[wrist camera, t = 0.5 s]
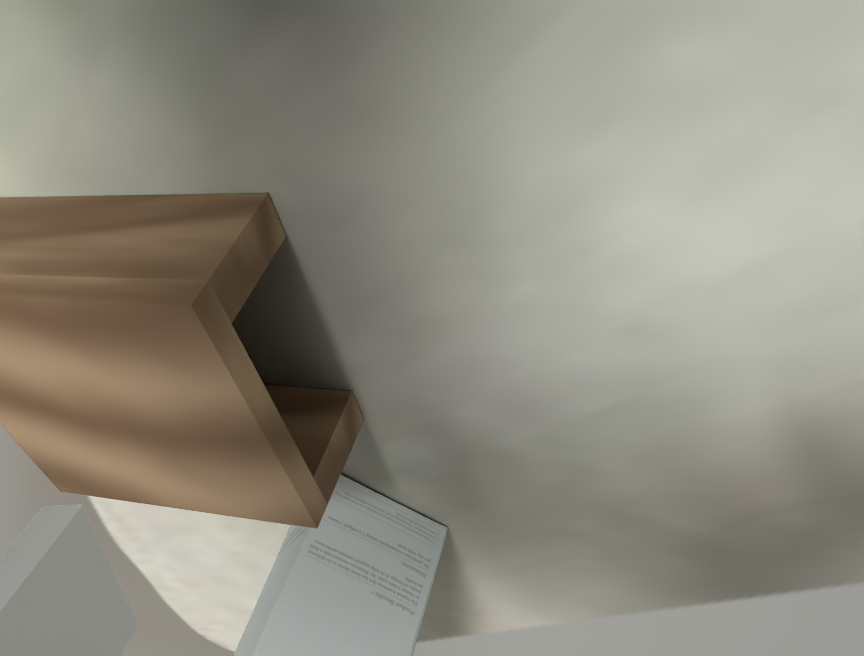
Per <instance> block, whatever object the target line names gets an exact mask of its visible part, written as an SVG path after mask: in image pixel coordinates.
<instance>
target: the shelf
mask: <svg viewBox="0 0 864 656" xmlns="http://www.w3.org/2000/svg"><path fill="white" fill-rule="evenodd" d="M285 238H286V234H285V232H284V229H283V227H282V225H281V222H280V220H279V217H278V215H277V213H276V210H275V208H274V206H273V203H272V201H271V199H270V196H269V194H268V193H248V194H188V195H128V196H68V197H8V198H0V425H1V426H2V427H3V428H4V430H5V431H6V432H7V433H8V434H9V435H10V436H11V437H12V438H13V439H14V440H15V442H16V443H17V444H18V445H19V446H20V447H21V448H22V449H23V450H24V452H25V453H26V454H27V455H28V456H29V457H30V458H31V459H32V460H33V461H34V463H36V465H37V466H38V467H39V468H40V469H41V470H42V471H43V473H44V474H45V475H46V476H47V477H48V478H49V479H50V480H51V481H52V482H53V484H54V485H55V486H56V487H57V488H58V489H59V490H60V491H61V492H68V493H76V494H82V495H89V496H96V497H103V498H109V499H116V500H123V501H130V502H137V503H144V504H151V505H158V506H165V507H172V508H179V509H185V510H192V511H199V512H206V513H213V514H220V515H227V516H234V517H241V518H248V519H255V520H261V521H268V522H275V523H282V524H289V525H296V526H303V527H310V528H317V529H318V526H319V524H320V522H321V519H322V517H323V515H324V512H325V510H326V507H327V505H328V503H329V500H330V498H331V496H332V493H333V491H334V489H335V486H336V484H337V481H338V479H339V477H340V474H341V472H342V470H343V467H344V465H345V463H346V460H347V458H348V456H349V453H350V451H351V448H352V446H353V444H354V441H355V439H356V437H357V434H358V432H359V430H360V427H361V425H362V423H363V420H364V418H363V416H362V413H361V411H360V408H359V406H358V404H357V401H356V399H355V397H354V394H353V392H352V391H343V390H330V389H317V388H304V387H291V386H278V385H265V384H263V382H262V380H261V378H260V376H259V375H258V373H257V371H256V369H255V367H254V365H253V363H252V361H251V359H250V358H249V356H248V354H247V352H246V350H245V348H244V346H243V344H242V343H241V341H240V339H239V337H238V335H237V333H236V331H235V329H234V327H233V326H232V322H233V321H234V319H235V318H236V316H237V314H238V313H239V311H240V310H241V308H242V306H243V305H244V303H245V302H246V300H247V298H248V297H249V295H250V294H251V292H252V290H253V289H254V287H255V286H256V284H257V282H258V281H259V279H260V278H261V276H262V275H263V273H264V271H265V270H266V268H267V267H268V265H269V263H270V262H271V260H272V259H273V257H274V255H275V254H276V252H277V251H278V249H279V247H280V246H281V244H282V243H283V241H284V239H285Z"/></svg>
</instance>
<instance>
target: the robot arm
mask: <svg viewBox="0 0 864 656" xmlns="http://www.w3.org/2000/svg"><path fill="white" fill-rule="evenodd" d="M138 625H139V622H138V620H137V618H136V616H135V614H134V612H133V609H132V607H131V606H130V603H129V601H128V599H127V597H126V595H125V592H124V590H123V588H122V586H121V584H120V582H119V580H118V577H117V575H116V573H115V571H114V569H113V567H112V565H111V563H110V560H109V558H108V556H107V554H106V552H105V550H104V548H103V545H102V543H101V541H100V539H99V537H98V535H97V533H96V531H95V529H94V526H93V524H92V522H91V520H90V518H89V516H88V513H87V511H86V509H85V507H84V505H82V504H81V505H64V506H48V507H47V506H46V507H42V508H41V509H40V510H39V512H38V513H37V514H36V515H35V516H34V518H33V519H32V520H31V521H30V522H29V523H28V525H27V526H26V527H25V529H23V531H22V532H21V533H20V534H19V535H18V537H17V538H16V539H15V540H14V541H13V542H12V544H11V545H10V546H9V547H8V548H7V550H6V551H5V552H4V553H3V554H2V556H1V557H0V656H121V655H122V653H123V651H124V649H125V648H126V646H127V644H128V643H129V641H130V639H131V637H132V636H133V634H134V632H135V630H136V629H137V627H138Z"/></svg>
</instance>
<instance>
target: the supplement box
mask: <svg viewBox="0 0 864 656" xmlns="http://www.w3.org/2000/svg"><path fill="white" fill-rule="evenodd" d="M447 530H448V528H447V527H445V526H443V525H441V524H439V523H437V522H435V521H433V520H431V519H429V518H426V517H424V516H422V515H420V514H418V513H416V512H414V511H412V510H410V509H408V508H406V507H404V506H402V505H400V504H398V503H396V502H394V501H392V500H390V499H388V498H386V497H384V496H382V495H380V494H379V493H377V492H375V491H373V490H371V489H368V488H366V487H364V486H363V485H361V484H359V483H357V482H355V481H353V480H351V479H349V478H347V477H345V476H343V475H341V474H340V477H339V479H338V481H337V484H336V486H335V489H334V491H333V493H332V496H331V498H330V500H329V503H328V505H327V507H326V510H325V512H324V515H323V517H322V519H321V522H320V524H319V526H318V529H317V528H310V527H303V526H296V525H290V528H289V530H288V532H287V535H286V537H285V539H284V542H283V544H282V546H281V549H280V551H279V553H278V556H277V558H276V560H275V563H274V565H273V567H272V569H271V572H270V574H269V576H268V578H267V581H266V583H265V585H264V588H263V590H262V592H261V594H260V597H259V599H258V601H257V604H256V606H255V608H254V610H253V613H252V615H251V617H250V620H249V622H248V624H247V626H246V629H245V631H244V633H243V635H242V638H241V640H240V642H239V644H238V647H237V649H236V651H235V654H234V656H412V655H413V652H414V648H415V645H416V642H417V638H418V635H419V631H420V628H421V624H422V621H423V617H424V614H425V610H426V607H427V603H428V600H429V596H430V593H431V589H432V586H433V582H434V578H435V574H436V570H437V567H438V563H439V560H440V556H441V553H442V549H443V546H444V542H445V538H446V534H447Z"/></svg>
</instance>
